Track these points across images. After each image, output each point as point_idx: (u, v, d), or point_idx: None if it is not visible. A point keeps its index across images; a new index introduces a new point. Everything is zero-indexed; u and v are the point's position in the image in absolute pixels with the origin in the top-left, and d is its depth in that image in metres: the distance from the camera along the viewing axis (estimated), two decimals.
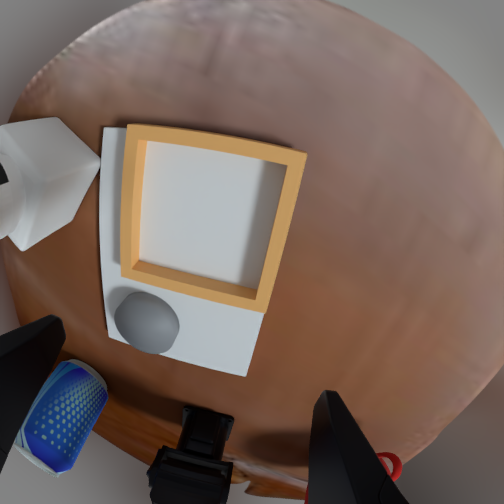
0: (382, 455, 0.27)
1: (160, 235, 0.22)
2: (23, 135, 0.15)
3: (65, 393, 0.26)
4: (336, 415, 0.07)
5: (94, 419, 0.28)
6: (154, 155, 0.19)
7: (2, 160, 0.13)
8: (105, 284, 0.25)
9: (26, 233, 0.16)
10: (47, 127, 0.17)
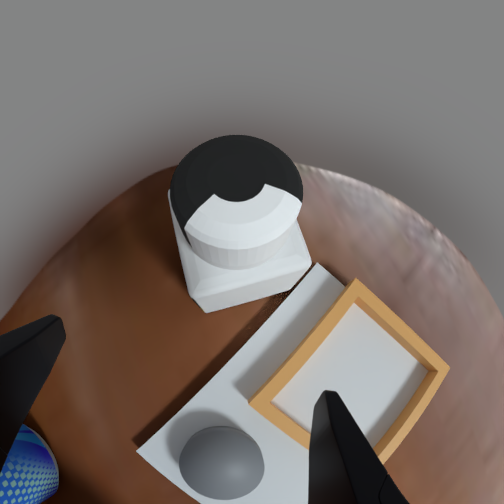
0: None
1: (309, 386, 0.20)
2: None
3: (16, 463, 0.11)
4: (336, 415, 0.07)
5: None
6: (348, 317, 0.22)
7: None
8: (196, 400, 0.19)
9: (228, 286, 0.16)
10: None
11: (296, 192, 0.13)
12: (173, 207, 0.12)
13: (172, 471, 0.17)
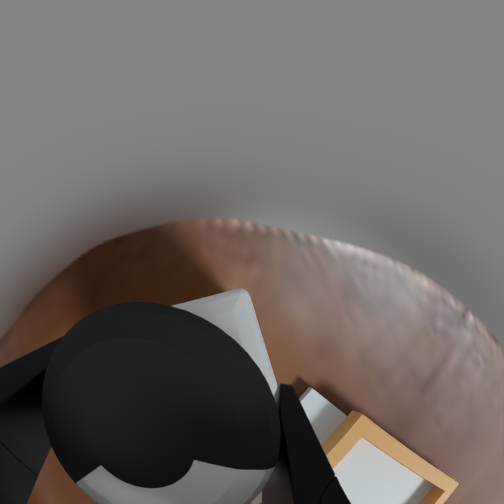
0: None
1: None
2: None
3: None
4: (287, 409, 0.07)
5: None
6: None
7: None
8: None
9: None
10: None
11: (264, 459, 0.05)
12: (53, 448, 0.05)
13: None
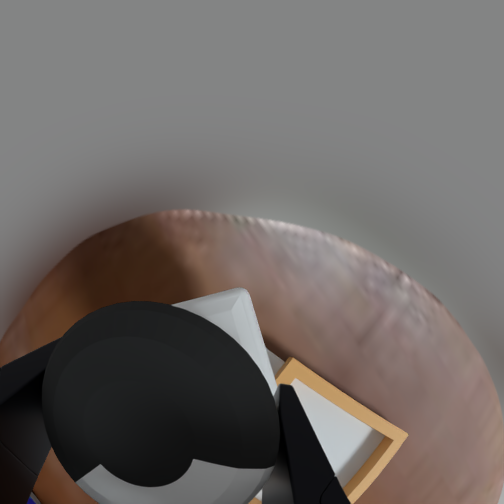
0: None
1: None
2: None
3: None
4: (287, 409, 0.07)
5: None
6: None
7: None
8: None
9: None
10: None
11: (263, 458, 0.05)
12: (53, 447, 0.05)
13: None
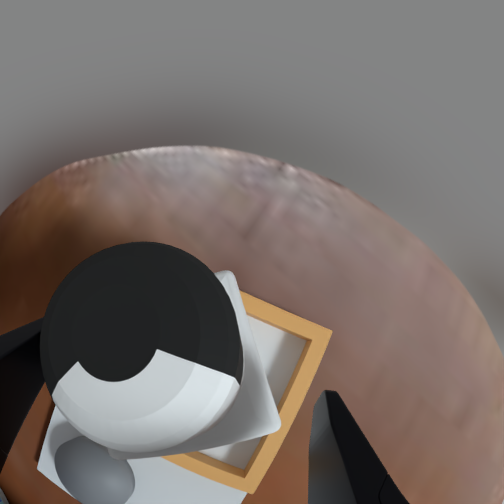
0: None
1: None
2: None
3: None
4: (336, 415, 0.07)
5: None
6: None
7: None
8: (57, 412, 0.16)
9: (155, 453, 0.09)
10: None
11: (221, 360, 0.06)
12: None
13: None
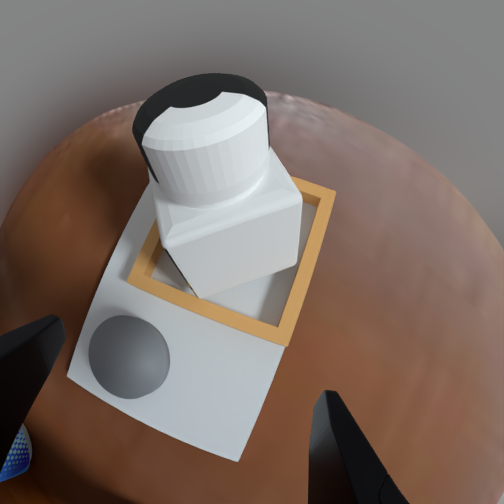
0: None
1: None
2: None
3: None
4: (336, 415, 0.07)
5: (0, 474, 0.11)
6: None
7: None
8: (95, 302, 0.21)
9: (204, 228, 0.13)
10: None
11: (257, 97, 0.11)
12: (133, 131, 0.11)
13: (97, 386, 0.19)
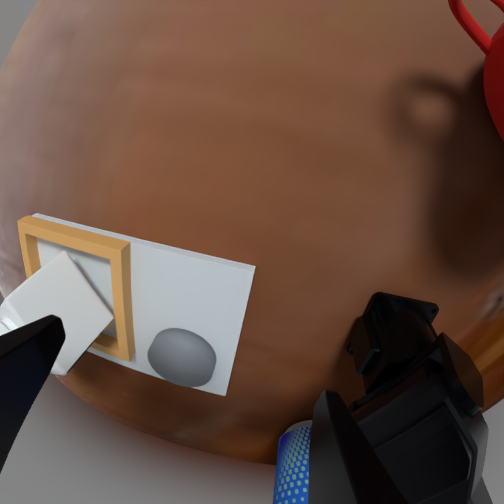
0: (462, 22, 0.08)
1: None
2: None
3: (280, 469, 0.24)
4: (336, 415, 0.07)
5: None
6: None
7: None
8: (160, 376, 0.27)
9: None
10: None
11: None
12: None
13: (220, 376, 0.26)
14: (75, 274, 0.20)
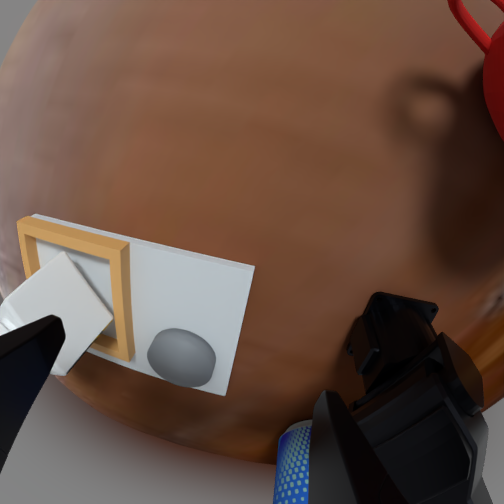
0: (462, 22, 0.08)
1: None
2: None
3: (280, 469, 0.24)
4: (336, 415, 0.07)
5: None
6: None
7: None
8: (159, 376, 0.27)
9: None
10: None
11: None
12: None
13: (220, 376, 0.26)
14: (74, 274, 0.20)
